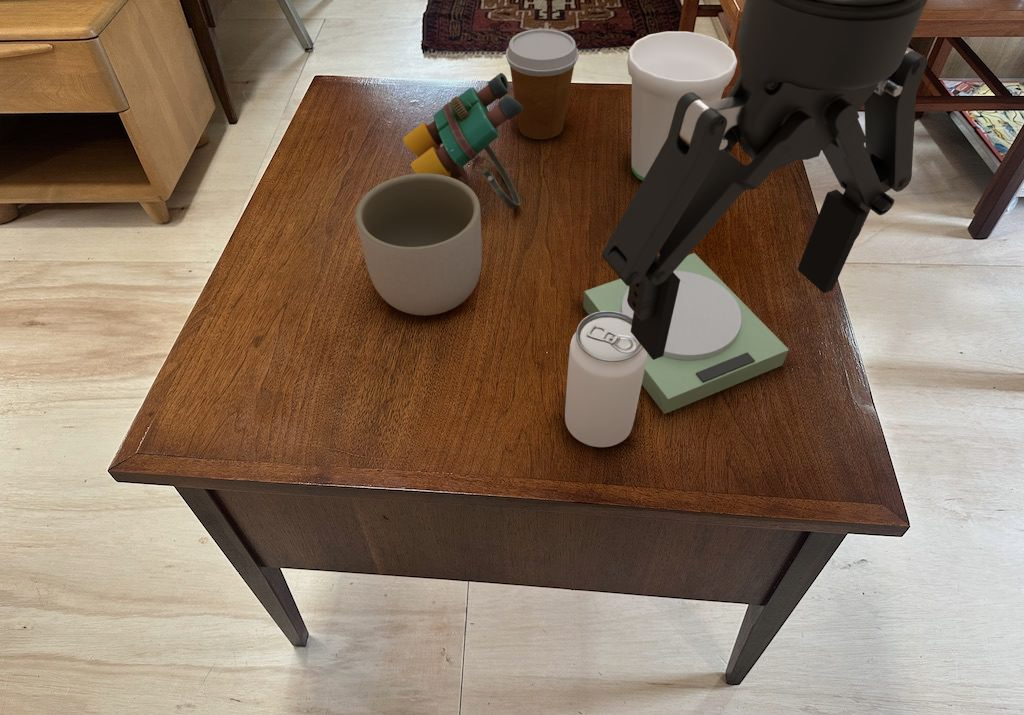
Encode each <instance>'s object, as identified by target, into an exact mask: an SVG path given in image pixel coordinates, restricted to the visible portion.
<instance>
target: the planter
mask: <svg viewBox="0 0 1024 715" xmlns="http://www.w3.org/2000/svg"><path fill="white" fill-rule="evenodd" d="M470 187H471V186H470ZM470 187H468V186H467V185H466V184H464V183H462V182H461V181H459V180H457V179H454V178H451V177H448V176H444V175H439V174H429V173H419V174H416V173H410V174H409V173H408V174H405V175H400V176H397V177H393V178H390V179H387V180H385V181H383V182H381V183H378V184H377V185H375V186H374V187H372V188H371V189H370V190H368V191H367V193H365V194H364V195H363V197H362V198H361V199H360V201H359V202H358V204H357V205H356V206H357V207H356V209H355V214H354V216H355V223H356V228H357V233H358V236H359V239H360V245H361V249H362V254H363V257H364V262H365V264H366V268H367V272H368V275H369V278H370V280H371V282H372V284H373V287H374V288H375V290H376V291H377V293H378V294H379V296H380V297H381V298H382V299H383V300H384V301H385V302H386V303H387V304H388V305H390V306H391V307H393V308H394V309H396V310H398V311H401V312H403V313H406V314H409V315H415V316H433V315H439V314H443V313H446V312H448V311H451V310H453V309H455V308H457V307H458V306H460V305H461V304H463V303H464V302H465V301H466V300H467V299H468V298H469V297H470V295H472V293H473V291H474V290H475V288H476V286H477V284H478V282H479V279H480V276H481V272H482V264H483V238H482V217H481V204H480V201H479V197H478V196H477V195H476V192H475V191H474V190H473V189H472V187H471V188H470Z"/></svg>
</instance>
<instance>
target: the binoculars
mask: <svg viewBox="0 0 1024 715" xmlns="http://www.w3.org/2000/svg"><path fill="white" fill-rule="evenodd" d="M509 93H510V85H509V80H508V78H507V76H506V75H505V74H504V73H503V72H500V73H498V74H497V75H496V76H494V77H493V78H492V79H490V80H489V81H488V82H487V85H486V86H483V88H481V89H480V90H478V91H477V90H476V89H475V87H471V86H470V87H469V88H468V89H466V90H465V91H464V92H462V93H461V94H460V95H458V96H455V97H453V98H451V99H450V101H448V102H447V103H446V104H445V105H443V106H442V108H441V109H439V110H438V111H436V112H435V113H434V114H433V121H432V122H431V123H429V124H428V123H426V122H422V123H421V124H419V125H418V126H416V128H414V129H412V130H411V131H410V132H409V133H407V134H406V135H404V137H403V138H402V140H403V143H404V144H405V146H406V147H407V148H408V150H410V151H411V153H413V154H414V156H417V158H416V159H414V160H413V161H411V163H410V166H411V168H412V170H413V172H414V174H419V173H429V174H439V175H444V176H448V177H451V178H454V179H457V180H459V181H461V182H462V183H464V184H466V185H467V186H468V187H470V188H471V189H472V187H471V185H470V182H471V180H470V177H469V176H468V173H467V171H466V170H465V166H466V165H467V164H468V163H470V161H471V162H472V163H473V164H472V167H471V168H472V172H473V174H474V176H475V177H477V178H478V177H481V176H482V175H483V177H484V179H486V181H487V182H488V184H489V185H490V187H491V188H492V190H493V191H494V192H495V194H496V195H497V196H498V198H499V199H500V200H501V201H502V202H503V203H504V204H505V205H506V207H508V208H510V209H512V210H515V209H516V208H517V207H519V206H520V205H521V199H520V196H519V194H518V191H517V189H516V187H515V185H514V182H513V181H512V179H511V177H510V176H509V173H508V172H507V170H506V168H505V167H504V165H503V164H502V162H501V161H500V159H499V158H498V156H497V154H496V153H495V152H494V150H493V149H492V147H491V146H490V144H492V143H493V142H494V141H495V140H497V139H498V137H500V132H499V130H498V127H500V126H501V125H502V124H504V123H505V122H507V121H511V120H512V119H513V118H515V117H517V114H519V113H520V112H521V111H523V108H522V106H521V104H520V103H519V102H518V101H516V100H515V98H514V97H513V96H511V95H509ZM497 100H499V101H498V102H497V103H498V104H497V105H495V107H493V108H491V109H490V110H489V109H488V106H490V105H491V104H492V103H494V102H495V101H497ZM441 145H442V146H441ZM483 151H484V152H485V153H486V154H487V156H488V157H487V156H482V157H481V156H480V155H479V154H480V153H481V152H483ZM484 160H485V161H486V162H488V163H489V165H488V166H484V167H483V168H482V169H480V171H479V172H478V171H477V168H478V167H479V166H480V165H481V164H482V163H483V162H484ZM493 167H495V168H496V170H497V171H498V173H499V174H500V176H501V178H502V179H503V181H504V184H505V185H506V187H507V189H508V191H509V194H510V196H511V198H512V199H511V198H510V197H509V196H508V194H507V193H506V192H505V191H504V189H503V188H502V187H501V186H500V184H499V182H498V181H497V179H496V177H495V176H494V174H493V173H492V171H491V170H490V169H492V168H493Z"/></svg>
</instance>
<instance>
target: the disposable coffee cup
mask: <svg viewBox="0 0 1024 715" xmlns="http://www.w3.org/2000/svg"><path fill="white" fill-rule="evenodd" d="M579 55H580V52H579V49H578V47H577V44H576V41H575V39H574V38H573V36H571V35H570V34H568V33H566V32H564V31H561V30H557V29H553V28H552V29H551V28H534V29H528V30H525V31H522V32H519V33H517V34H515V35H513V37H512V38H511V39H510V40H509V42H508V47H507V48H506V50H505V59H506V61H507V63H508V66H509V69H510V75H511V77H510V78H511V82H512V89H513V90H512V91H513V98H514V99H515V100H516V101H518V102H519V103H520V104H521V106H522V108H523V111H521V112H520V113H519V114H517V115H516V119H517V126H518V130H519V132H520V133H521V134H522V135H523V136H525V137H527V138H530V139H532V140H533V139H534V140H548V139H549V140H550V139H553V138H556V137H557V136H559V135H560V134H561V133H562V132H563V130H564V125H565V124H564V123H565V118H566V112H567V108H568V103H569V96H570V91H571V86H572V79H573V73H574V69H575V66H576V63H577V61H578V60H579V57H580V56H579Z"/></svg>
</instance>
